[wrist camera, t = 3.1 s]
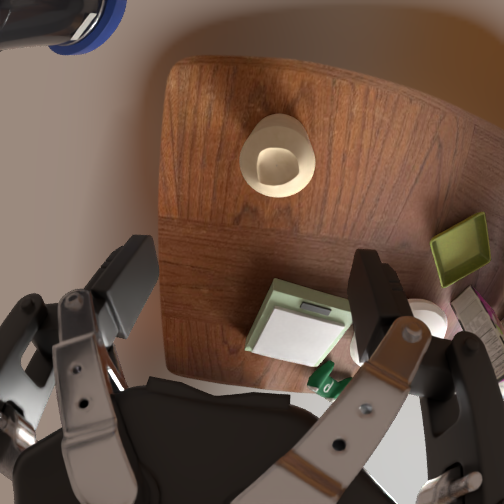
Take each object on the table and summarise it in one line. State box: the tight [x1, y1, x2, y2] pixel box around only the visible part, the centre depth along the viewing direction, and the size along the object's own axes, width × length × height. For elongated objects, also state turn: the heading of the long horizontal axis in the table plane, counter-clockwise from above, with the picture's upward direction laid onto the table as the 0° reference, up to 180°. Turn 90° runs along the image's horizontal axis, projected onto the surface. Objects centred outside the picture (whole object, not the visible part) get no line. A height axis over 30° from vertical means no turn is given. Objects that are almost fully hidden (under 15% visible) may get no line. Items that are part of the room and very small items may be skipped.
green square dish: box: [430, 212, 491, 288], centre depth 30 cm, size 9×9×2 cm
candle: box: [240, 114, 315, 197], centre depth 23 cm, size 6×6×10 cm
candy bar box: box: [450, 285, 504, 399], centre depth 30 cm, size 11×5×16 cm, turn 59°
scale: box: [245, 278, 353, 367], centre depth 40 cm, size 12×13×3 cm
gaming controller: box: [307, 361, 352, 403], centre depth 47 cm, size 9×4×6 cm
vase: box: [350, 299, 447, 366], centre depth 37 cm, size 16×16×7 cm
